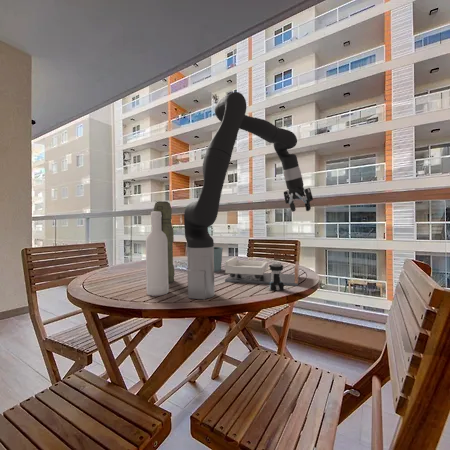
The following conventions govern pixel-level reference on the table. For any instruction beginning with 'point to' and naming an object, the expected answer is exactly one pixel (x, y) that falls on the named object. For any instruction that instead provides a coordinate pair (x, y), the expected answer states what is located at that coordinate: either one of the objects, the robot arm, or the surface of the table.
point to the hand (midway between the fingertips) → (301, 210)
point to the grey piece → (266, 278)
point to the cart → (245, 267)
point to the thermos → (167, 233)
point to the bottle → (157, 258)
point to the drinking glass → (217, 258)
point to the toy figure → (276, 276)
